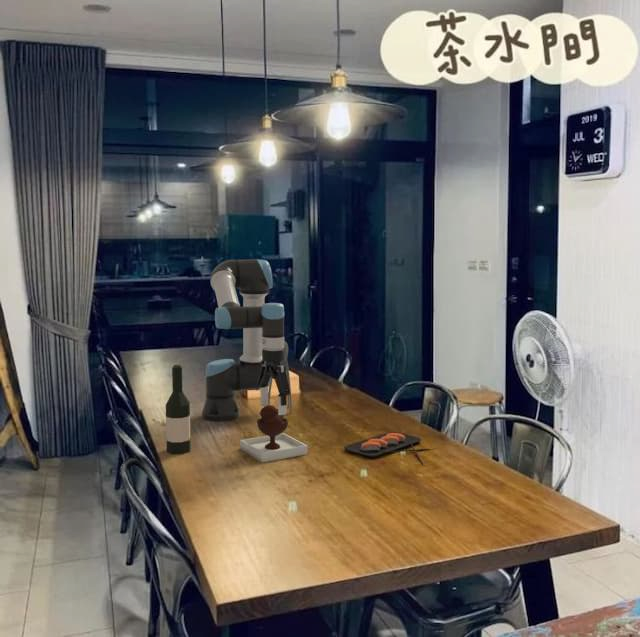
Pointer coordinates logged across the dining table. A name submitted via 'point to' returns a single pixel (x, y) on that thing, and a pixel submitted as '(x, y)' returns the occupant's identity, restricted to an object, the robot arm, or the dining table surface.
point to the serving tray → (286, 450)
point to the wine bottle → (178, 416)
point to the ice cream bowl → (271, 425)
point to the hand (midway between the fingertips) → (273, 410)
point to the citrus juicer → (285, 363)
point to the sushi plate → (384, 444)
